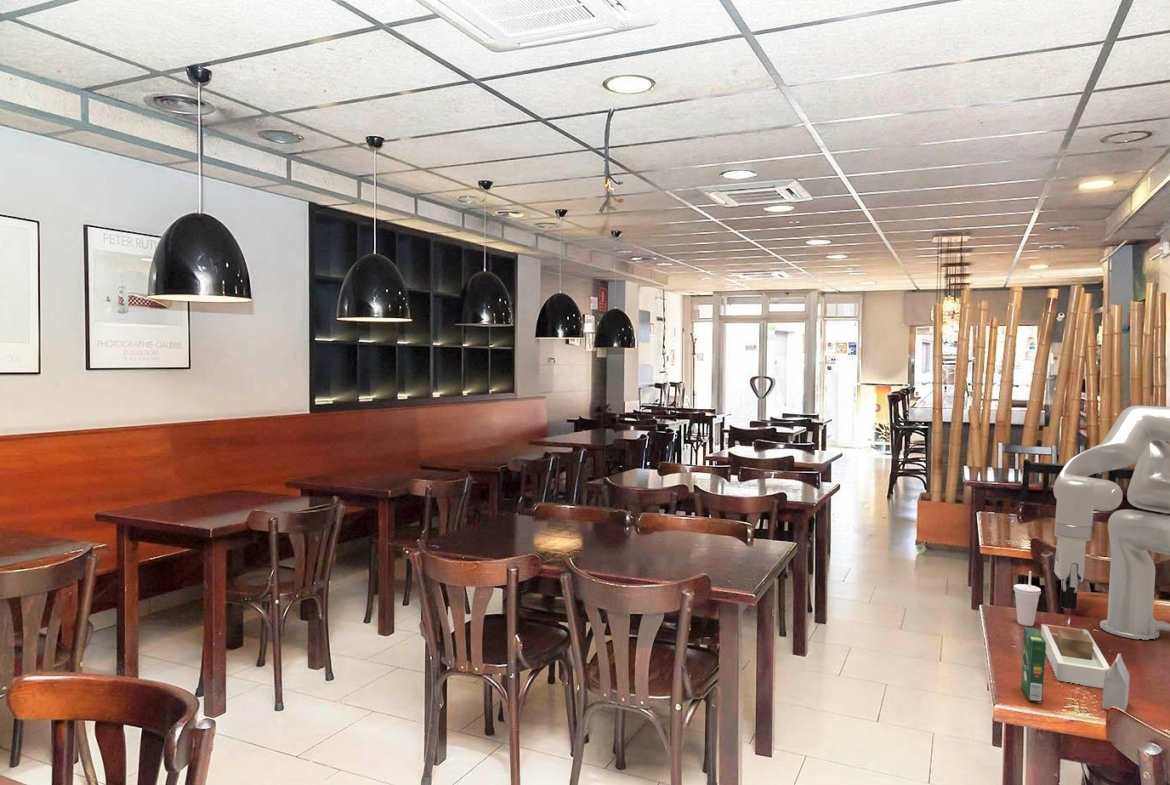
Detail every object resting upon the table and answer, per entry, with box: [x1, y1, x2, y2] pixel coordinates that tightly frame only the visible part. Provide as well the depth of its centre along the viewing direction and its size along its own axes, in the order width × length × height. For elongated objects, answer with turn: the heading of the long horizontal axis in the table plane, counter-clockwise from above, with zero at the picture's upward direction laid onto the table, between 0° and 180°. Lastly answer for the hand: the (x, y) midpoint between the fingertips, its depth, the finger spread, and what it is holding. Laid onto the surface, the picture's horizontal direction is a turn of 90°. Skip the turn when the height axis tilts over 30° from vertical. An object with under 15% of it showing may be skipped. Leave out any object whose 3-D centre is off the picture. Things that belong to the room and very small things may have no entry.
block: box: [1057, 630, 1093, 660], centre depth 181 cm, size 6×6×4 cm
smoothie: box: [1013, 570, 1042, 627], centre depth 208 cm, size 6×6×14 cm
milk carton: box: [1101, 652, 1131, 712], centre depth 159 cm, size 4×7×10 cm, turn 140°
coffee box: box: [1020, 626, 1046, 703], centre depth 163 cm, size 8×3×13 cm, turn 160°
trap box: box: [1040, 623, 1111, 689], centre depth 182 cm, size 10×28×4 cm, turn 157°
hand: (1067, 607), depth 188 cm, fingers closed
